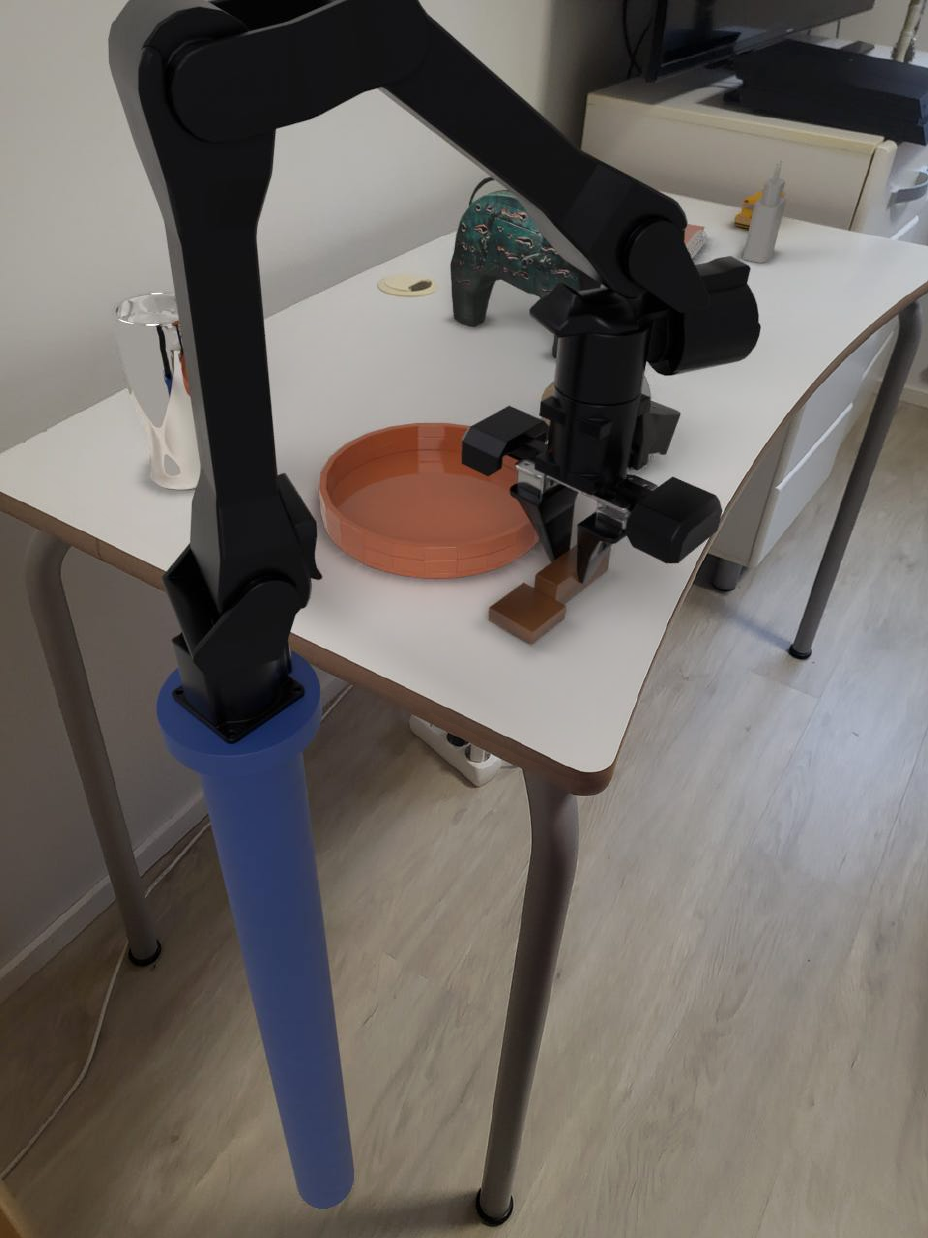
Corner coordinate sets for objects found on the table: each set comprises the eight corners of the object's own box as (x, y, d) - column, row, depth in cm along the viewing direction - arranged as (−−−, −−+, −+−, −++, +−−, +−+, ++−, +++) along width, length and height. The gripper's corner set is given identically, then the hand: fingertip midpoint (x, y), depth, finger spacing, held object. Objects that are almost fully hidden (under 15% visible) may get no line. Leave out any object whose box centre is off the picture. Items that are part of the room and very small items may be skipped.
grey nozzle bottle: (774, 251, 131) (797, 159, 123) (763, 263, 127) (785, 168, 120) (752, 247, 132) (773, 155, 124) (741, 258, 128) (762, 164, 121)
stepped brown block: (618, 575, 73) (622, 549, 71) (531, 645, 66) (533, 618, 65) (576, 554, 75) (580, 528, 73) (488, 619, 68) (489, 593, 67)
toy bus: (731, 227, 139) (737, 199, 136) (761, 212, 144) (767, 185, 142) (751, 232, 137) (757, 204, 135) (780, 216, 143) (786, 190, 140)
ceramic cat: (611, 357, 104) (638, 162, 91) (578, 376, 100) (602, 176, 87) (472, 307, 113) (478, 124, 100) (437, 323, 109) (439, 135, 96)
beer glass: (202, 443, 87) (174, 283, 77) (240, 475, 83) (216, 310, 73) (131, 467, 83) (93, 302, 74) (167, 502, 79) (132, 333, 70)
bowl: (442, 611, 70) (443, 580, 68) (274, 511, 79) (270, 480, 77) (592, 507, 81) (596, 477, 79) (429, 429, 90) (429, 401, 88)
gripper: (786, 391, 61) (734, 579, 71) (557, 309, 70) (540, 486, 80) (698, 454, 55) (654, 651, 65) (459, 355, 64) (453, 542, 74)
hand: (572, 574), depth 71 cm, fingers closed on stepped brown block, 2 cm apart
